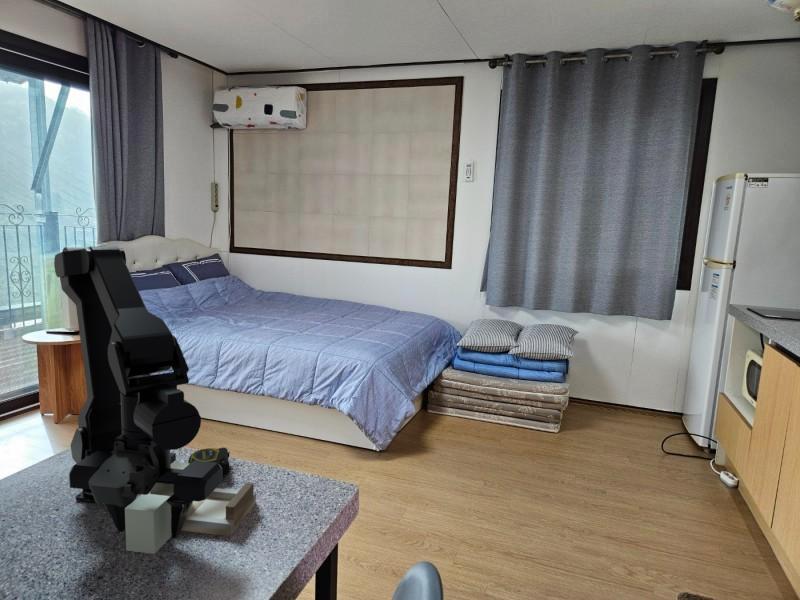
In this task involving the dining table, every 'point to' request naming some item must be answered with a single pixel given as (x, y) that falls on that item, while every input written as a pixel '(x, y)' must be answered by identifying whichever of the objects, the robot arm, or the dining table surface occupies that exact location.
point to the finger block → (147, 523)
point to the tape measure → (213, 457)
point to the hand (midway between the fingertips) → (149, 533)
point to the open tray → (214, 507)
